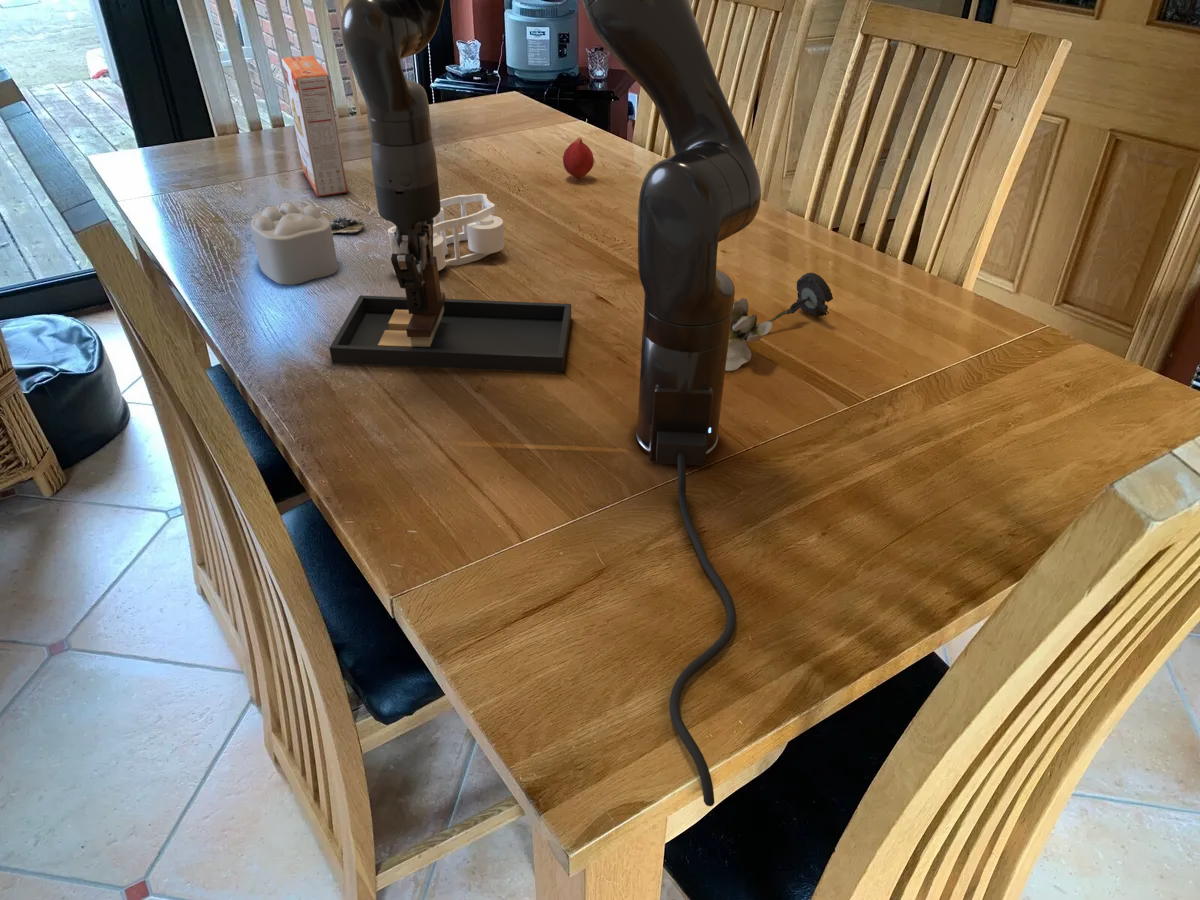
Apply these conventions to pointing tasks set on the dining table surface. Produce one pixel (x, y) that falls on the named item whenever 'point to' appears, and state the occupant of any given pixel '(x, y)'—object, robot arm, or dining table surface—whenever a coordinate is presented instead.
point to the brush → (427, 323)
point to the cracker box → (315, 124)
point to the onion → (578, 159)
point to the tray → (461, 336)
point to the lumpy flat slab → (346, 225)
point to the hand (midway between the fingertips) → (420, 305)
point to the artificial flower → (745, 327)
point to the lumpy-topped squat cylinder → (294, 243)
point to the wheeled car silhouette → (464, 231)
